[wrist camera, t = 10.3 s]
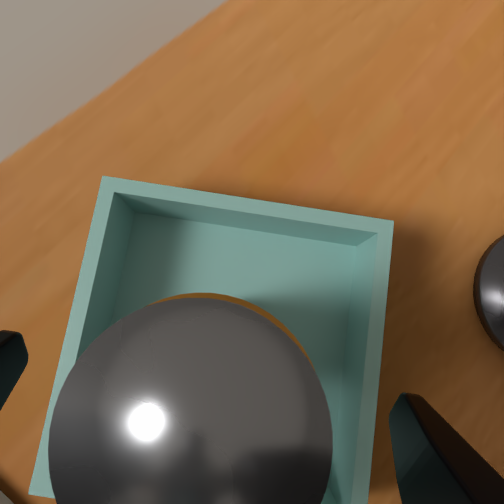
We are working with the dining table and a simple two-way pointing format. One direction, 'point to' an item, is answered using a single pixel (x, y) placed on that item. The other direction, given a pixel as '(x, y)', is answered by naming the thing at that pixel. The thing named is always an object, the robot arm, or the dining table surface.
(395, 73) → the dining table surface
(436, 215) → the dining table surface
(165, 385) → the strut
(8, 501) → the smartphone
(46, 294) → the dining table surface
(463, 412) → the dining table surface
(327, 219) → the bin
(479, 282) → the dark metal disc
